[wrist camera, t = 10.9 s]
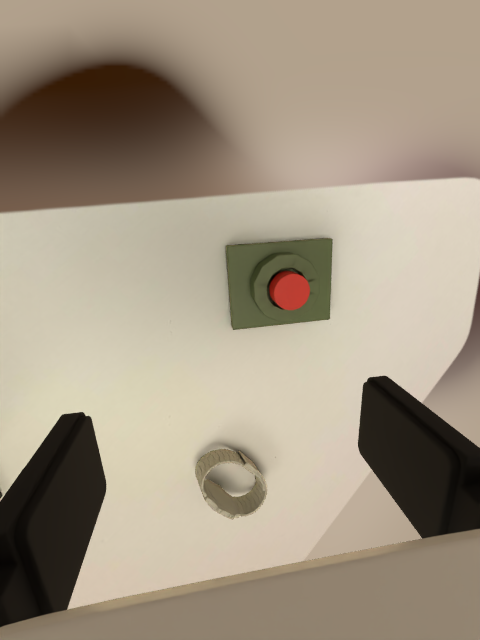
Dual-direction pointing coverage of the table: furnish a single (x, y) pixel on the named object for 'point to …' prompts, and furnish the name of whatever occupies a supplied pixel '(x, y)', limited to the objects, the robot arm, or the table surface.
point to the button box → (262, 266)
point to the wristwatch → (218, 496)
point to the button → (289, 290)
